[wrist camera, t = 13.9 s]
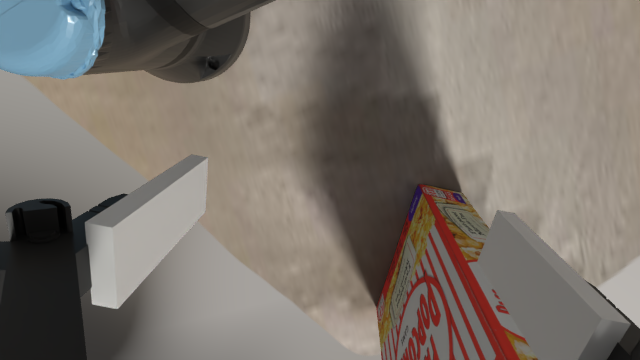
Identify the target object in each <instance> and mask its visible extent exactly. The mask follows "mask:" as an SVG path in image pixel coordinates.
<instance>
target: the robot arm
mask: <svg viewBox="0 0 640 360" xmlns="http://www.w3.org/2000/svg"><path fill="white" fill-rule="evenodd" d="M273 1H275V0H0V69H2V70H4V71H7V72H10V73H15V74H18V75H24V76H44V77H52V78H59V79H67V78H76V77H79V76H81V75H88V74H100V73H113V72H125V71H137V70H145V71H146V72H148V73H150V74H152V75H154V76H156V77H158V78H161V79H164V80H167V81H171V82H177V83H194V82H200V81H205V80H209V79H212V78H214V77H216V76H218V75H220V74H222V73H223V72H225V71H226V70H227V69H228V68H229V67H230V66H232V64H233V63H234V62H235V61H236V60H237V58H238V57H239V55H240V54H241V52H242V50H243V48H244V46H245V43H246V40H247V37H248V33H249V27H250V12H251V11H253V10H255V9H257V8H260V7H262V6H264V5H266V4H269V3H271V2H273ZM207 169H208V157H202V156H197V155H190V156H188V157H187V158H185V159H184V160H182V161H180V162H179V163H177V164H176V165H174V166H173V167H171V168H169V169H168V170H166V171H165V172H163V173H162V174H160V175H158V176H157V177H155V178H154V179H152V180H151V181H149V182H147V183H146V184H144V185H143V186H141V187H140V188H138V189H136V190H135V191H133V192H132V193H130V194H129V195H128V194H121V195H118V196H115V197H111V198H108V199H107V200H105V201H103V202H102V203H100V204H99V205H98V206H95V207H93V208H92V209H90V210H89V212H88V211H87V212H85V213H83V214H82V215H80V216H78V217H77V218H75V219H73V220H72V216H71V209H70V208H71V207H70V205H69V203H68V202H65V201H63V200H59V199H36V200H29V201H25V202H22V203H19V204H16V205H14V206H12V207H10V208H9V209H8V210H7V211H6V213H5V215H6V221H7V226H8V232H9V237H10V242H0V360H87V356H86V346H85V337H84V328H83V319H82V309H81V300H80V297H81V296H83V295H84V294H85V293H86V292H87V291H88V290H89V289H90V288H91V296H92V304H94V305H99V306H105V307H109V308H115V309H118V308H119V307H120V306H121V305H122V303H123V302H124V301H125V300H126V299H127V298H128V297H129V296H130V295H131V294H132V292H133V291H134V290H135V289H136V288H137V287H138V286H139V285H140V283H141V282H142V281H143V280H144V279H145V278H146V277H147V276H148V275H149V274H150V273H151V271H152V270H153V269H154V268H155V267H156V266H157V265H158V264H159V263H160V261H161V260H162V259H163V258H164V257H165V256H166V255H167V254H168V253H169V252H170V250H171V249H172V248H173V247H174V246H175V245H176V243H178V242H179V241H180V239H181V238H182V237H183V236H184V235H185V234H186V233H187V231H189V230H190V228H191V227H192V226H193V225H194V224H195V223H196V222H197V221H198V220H199V218H200V217H201V216H202V215H203V214H204V213H205V210H206V190H207ZM477 263H478V264H479V266H480V268H481V269H482V271H483V272H484V274H485V276H486V277H487V279H488V280H489V282H490V284H491V285H492V287H493V288H494V290H495V292H496V293H497V295H498V296H499V298H500V300H501V301H502V303H503V304H504V306H505V308H506V309H507V311H508V312H509V314H510V316H511V317H512V319H513V320H514V322H515V324H516V325H517V327H518V328H519V330H520V332H521V333H522V335H523V336H524V338H525V340H526V341H527V343H528V344H529V346H530V348H531V349H532V351H533V352H534V354H535V356H536V357H537V359H538V360H640V329H639V328H638V327H637V326H636V325H635V324H634V323H633V322H632V321H631V320H630V319H629V318H628V317H627V316H625V314H623V313H622V312H621V311H620V310H619V309H618V308H616V307H615V305H614V304H613V303H612V302H611V301H610V300H608V299H606V297H605V296H604V295H603V294H602V293H601V292H600V291H599V290H598V289H597V288H596V287H595V286H593V285H592V284H590V283H589V282H587V281H586V280H584V279H583V278H582V277H581V276H580V275H579V274H578V273H577V272H576V271H575V270H574V269H572V268H571V267H570V266H569V265H568V264H567V263H566V262H565V261H564V260H563V259H562V258H561V257H560V256H559V255H558V254H557V253H556V252H555V251H554V250H553V249H551V248H550V247H549V246H548V245H547V244H546V243H545V242H544V241H543V240H542V239H541V238H540V237H539V236H538V235H537V234H536V233H535V232H534V231H533V230H531V229H530V228H529V227H528V226H527V225H526V224H525V223H524V222H523V221H522V220H521V219H520V218H519V217H518V216H517V215H516V214H515V213H510V212H505V211H499V210H497V212H496V215H495V217H494V220H493V222H492V225H491V228H490V230H489V233H488V235H487V238H486V240H485V243H484V246H483V248H482V251H481V253H480V256H479V258H478V261H477Z"/></svg>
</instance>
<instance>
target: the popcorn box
mask: <svg viewBox="0 0 640 360" xmlns="http://www.w3.org/2000/svg"><path fill="white" fill-rule="evenodd" d="M489 230H490V229H489V228H488V226H487V225H486V224H485V222H484V221H483V220H482V218H481V217H480V216H479V214H478V213H477V212H476V211H475V209H474V208H473V207H472V205H471V204H470V202H469V201H468V199H467V198H466V197H465V195H464V194H463V193H460V192H455V191H450V190H446V189H442V188H437V187H432V186H428V185H422V184H419V185H418V186H417V189H416V192H415V194H414V197H413V200H412V203H411V206H410V209H409V212H408V215H407V218H406V221H405V224H404V227H403V230H402V233H401V236H400V239H399V242H398V245H397V248H396V251H395V255H394V257H393V260H392V263H391V266H390V269H389V272H388V275H387V278H386V281H385V284H384V287H383V290H382V293H381V296H380V299H379V302H378V304H377V317H378V328H379V337H380V346H381V356H382V360H538V359H537V357H536V356H535V354H534V352H533V351H532V349H531V348H530V346H529V344H528V343H527V341H526V340H525V338H524V336H523V335H522V333H521V332H520V330H519V328H518V327H517V325H516V324H515V322H514V320H513V319H512V317H511V316H510V314H509V312H508V311H507V309H506V308H505V306H504V304H503V303H502V301H501V300H500V298H499V296H498V295H497V293H496V292H495V290H494V288H493V287H492V285H491V284H490V282H489V280H488V279H487V277H486V276H485V274H484V272H483V271H482V269H481V268H480V266H479V264H478V263H477V261H478V258H479V256H480V253H481V251H482V248H483V246H484V243H485V240H486V238H487V235H488V233H489Z"/></svg>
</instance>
